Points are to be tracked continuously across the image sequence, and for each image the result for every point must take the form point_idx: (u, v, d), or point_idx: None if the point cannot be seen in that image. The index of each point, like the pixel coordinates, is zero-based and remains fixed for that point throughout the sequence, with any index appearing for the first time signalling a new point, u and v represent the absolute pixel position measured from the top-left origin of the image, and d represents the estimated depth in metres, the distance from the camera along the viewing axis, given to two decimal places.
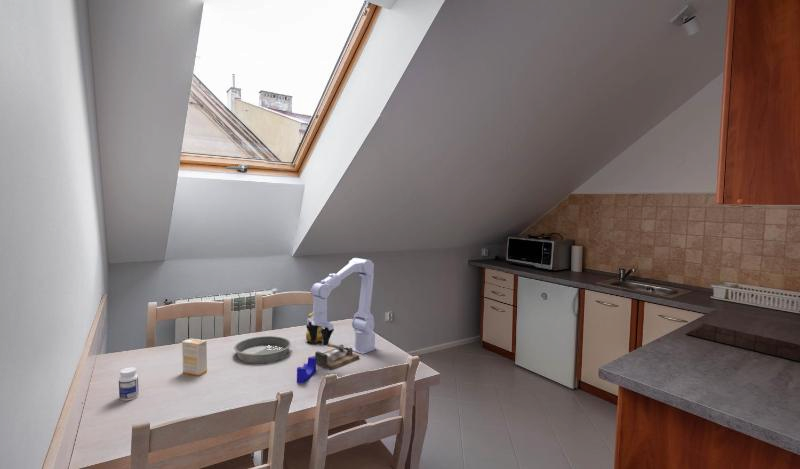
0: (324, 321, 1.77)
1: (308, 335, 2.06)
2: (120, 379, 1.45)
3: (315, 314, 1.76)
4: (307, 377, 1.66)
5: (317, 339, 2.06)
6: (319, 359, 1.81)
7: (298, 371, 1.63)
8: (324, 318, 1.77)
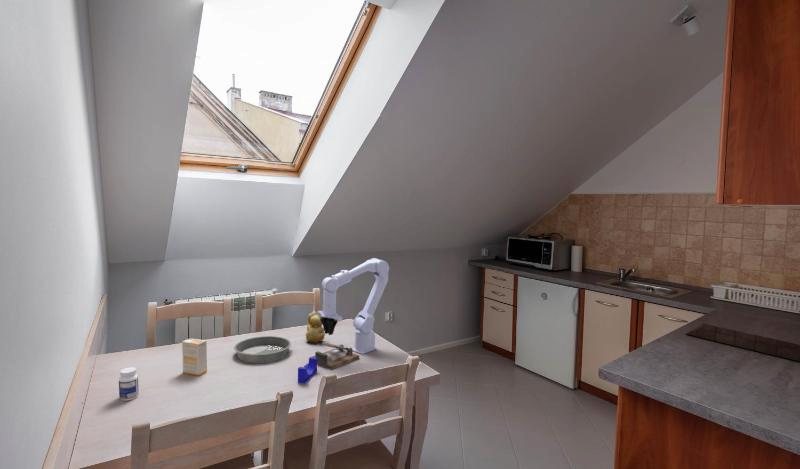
0: (333, 313, 1.88)
1: (308, 335, 2.06)
2: (120, 379, 1.45)
3: (325, 307, 1.87)
4: (308, 377, 1.66)
5: (317, 339, 2.06)
6: (319, 359, 1.81)
7: (299, 371, 1.63)
8: (333, 310, 1.88)
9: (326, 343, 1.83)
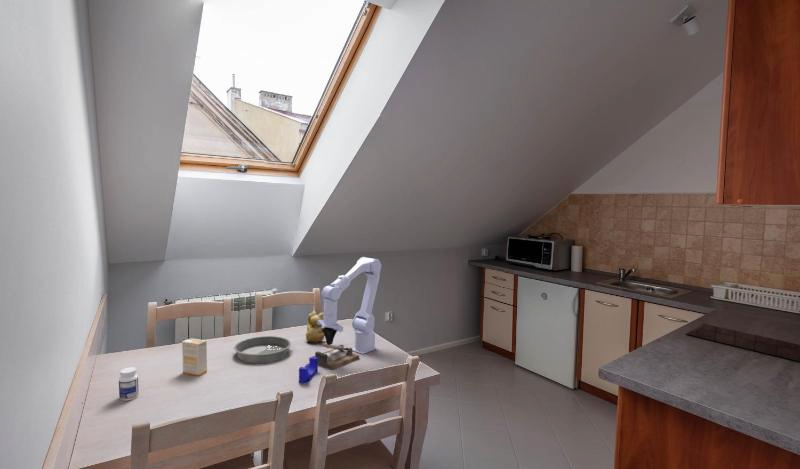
0: (334, 323, 1.82)
1: (308, 335, 2.06)
2: (120, 379, 1.45)
3: (325, 316, 1.81)
4: (309, 377, 1.66)
5: (317, 339, 2.06)
6: (319, 359, 1.81)
7: (300, 371, 1.63)
8: (334, 320, 1.82)
9: (326, 344, 1.83)
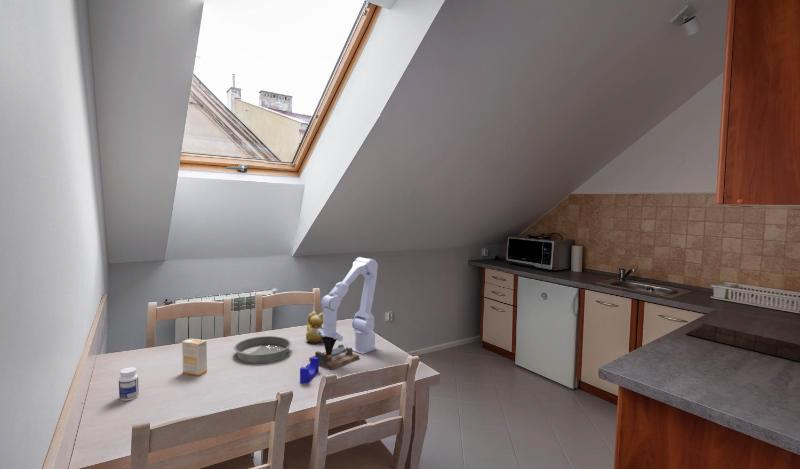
0: (334, 332, 1.82)
1: (308, 335, 2.06)
2: (120, 379, 1.45)
3: (325, 325, 1.81)
4: (310, 377, 1.66)
5: (317, 339, 2.06)
6: (319, 359, 1.81)
7: (301, 371, 1.63)
8: (334, 329, 1.82)
9: None
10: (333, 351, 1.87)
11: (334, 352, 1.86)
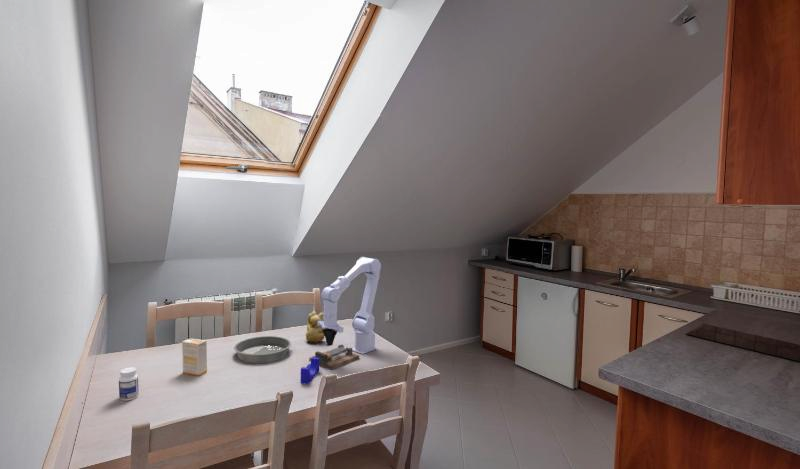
0: (334, 324, 1.82)
1: (308, 335, 2.06)
2: (120, 379, 1.45)
3: (325, 317, 1.81)
4: (311, 377, 1.66)
5: (317, 339, 2.06)
6: (319, 359, 1.81)
7: (302, 371, 1.63)
8: (334, 321, 1.82)
9: None
10: (333, 351, 1.87)
11: (334, 352, 1.86)
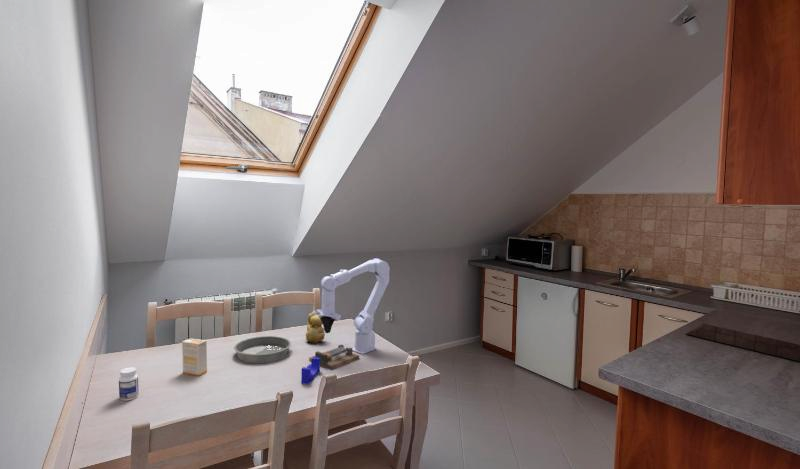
0: (332, 312, 1.90)
1: (308, 335, 2.06)
2: (120, 379, 1.45)
3: (323, 305, 1.89)
4: (311, 377, 1.66)
5: (317, 339, 2.06)
6: None
7: (303, 371, 1.63)
8: (332, 309, 1.90)
9: None
10: (333, 351, 1.87)
11: (334, 352, 1.86)
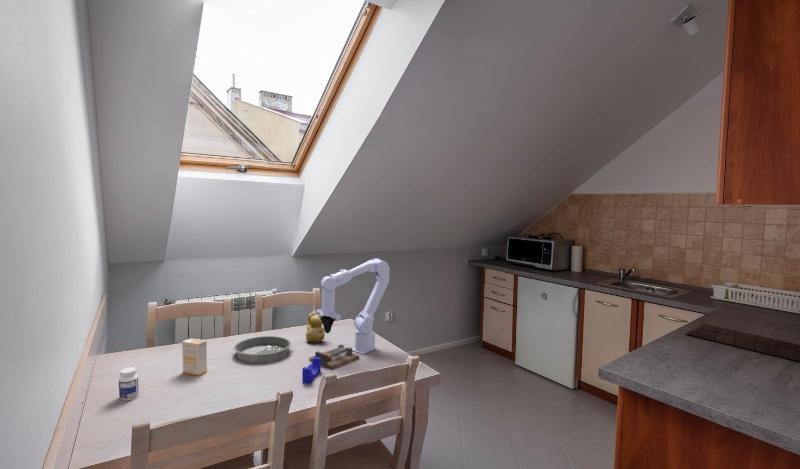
0: (332, 312, 1.90)
1: (308, 335, 2.06)
2: (120, 379, 1.45)
3: (323, 305, 1.89)
4: (312, 377, 1.66)
5: (317, 339, 2.06)
6: None
7: (304, 371, 1.63)
8: (332, 309, 1.90)
9: None
10: (333, 351, 1.87)
11: (334, 352, 1.86)
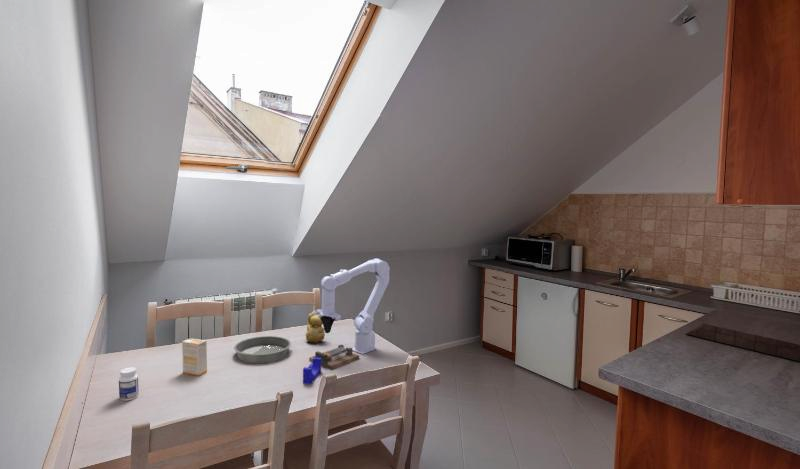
0: (332, 312, 1.90)
1: (308, 335, 2.06)
2: (120, 379, 1.45)
3: (323, 305, 1.89)
4: (313, 378, 1.66)
5: (317, 339, 2.06)
6: None
7: (304, 372, 1.63)
8: (332, 309, 1.90)
9: None
10: (333, 351, 1.87)
11: (334, 352, 1.86)
